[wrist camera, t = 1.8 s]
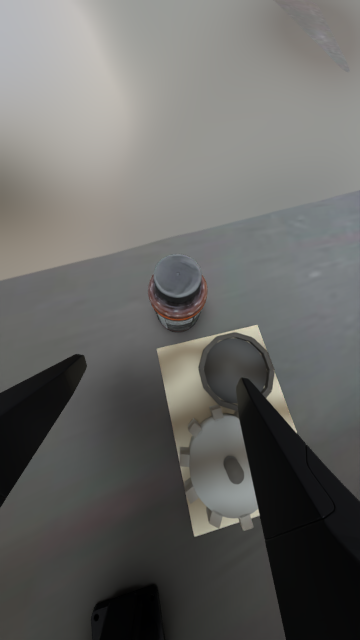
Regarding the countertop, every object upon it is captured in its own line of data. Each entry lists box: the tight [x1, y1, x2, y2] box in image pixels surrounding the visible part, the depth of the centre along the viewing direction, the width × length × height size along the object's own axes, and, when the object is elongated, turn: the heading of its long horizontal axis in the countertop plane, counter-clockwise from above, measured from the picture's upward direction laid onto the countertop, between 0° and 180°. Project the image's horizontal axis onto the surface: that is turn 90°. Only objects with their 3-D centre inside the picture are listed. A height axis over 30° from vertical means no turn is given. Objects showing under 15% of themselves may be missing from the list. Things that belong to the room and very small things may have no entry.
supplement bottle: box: [148, 254, 207, 332], centre depth 18 cm, size 6×6×11 cm
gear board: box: [157, 325, 297, 537], centre depth 18 cm, size 20×14×4 cm
